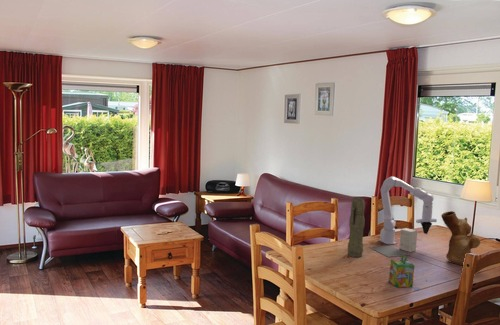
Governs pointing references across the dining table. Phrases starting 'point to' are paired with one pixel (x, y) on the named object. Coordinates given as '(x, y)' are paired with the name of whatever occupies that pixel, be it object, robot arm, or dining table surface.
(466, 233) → the ceramic vessel
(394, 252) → the mat
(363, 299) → the dining table surface
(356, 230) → the olive green carved pillar
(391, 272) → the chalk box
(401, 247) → the small box
